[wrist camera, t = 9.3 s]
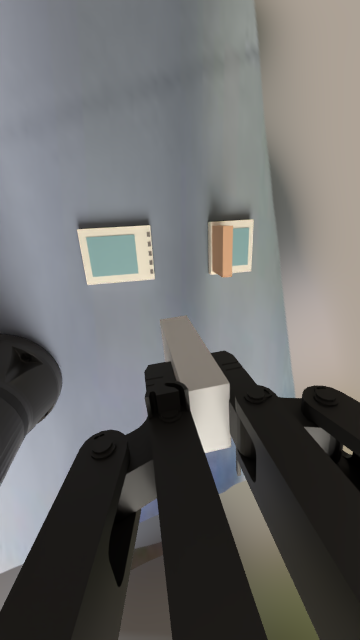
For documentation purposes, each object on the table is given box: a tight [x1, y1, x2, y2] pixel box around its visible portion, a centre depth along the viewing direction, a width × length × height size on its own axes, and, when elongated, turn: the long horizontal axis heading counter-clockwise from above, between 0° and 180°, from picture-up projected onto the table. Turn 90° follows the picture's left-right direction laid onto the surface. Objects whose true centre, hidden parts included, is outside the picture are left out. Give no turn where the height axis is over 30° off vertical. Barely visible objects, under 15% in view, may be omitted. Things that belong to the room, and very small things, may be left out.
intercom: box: [208, 220, 254, 277], centre depth 34 cm, size 6×7×6 cm
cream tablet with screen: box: [77, 225, 155, 285], centre depth 34 cm, size 9×7×1 cm
